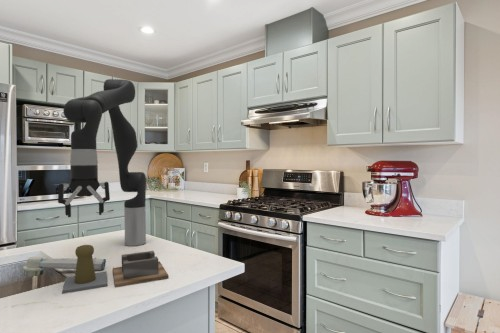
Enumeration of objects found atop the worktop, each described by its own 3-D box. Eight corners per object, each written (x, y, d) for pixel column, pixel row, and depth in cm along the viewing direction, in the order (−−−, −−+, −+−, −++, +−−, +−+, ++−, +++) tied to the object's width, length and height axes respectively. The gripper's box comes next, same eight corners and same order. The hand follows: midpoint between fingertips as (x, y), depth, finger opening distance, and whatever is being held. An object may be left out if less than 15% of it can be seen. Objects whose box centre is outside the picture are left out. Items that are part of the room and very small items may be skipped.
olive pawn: (90, 283, 96) (90, 247, 96) (70, 284, 95) (69, 248, 95) (99, 276, 102) (98, 242, 102) (79, 277, 101) (79, 243, 101)
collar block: (112, 270, 109) (112, 253, 109) (159, 264, 116) (159, 247, 116) (115, 287, 95) (114, 267, 95) (168, 278, 102) (168, 260, 102)
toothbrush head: (103, 260, 109) (21, 256, 103) (101, 280, 109) (19, 277, 103) (106, 256, 114) (29, 252, 108) (104, 274, 114) (26, 271, 108)
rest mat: (66, 279, 101) (65, 277, 101) (106, 273, 107) (106, 271, 107) (62, 293, 91) (62, 290, 91) (107, 286, 96) (107, 283, 96)
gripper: (108, 163, 104) (109, 212, 105) (59, 164, 98) (60, 215, 99) (109, 163, 98) (110, 215, 98) (56, 164, 92) (57, 219, 92)
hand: (85, 215), depth 98 cm, fingers open, 8 cm apart
